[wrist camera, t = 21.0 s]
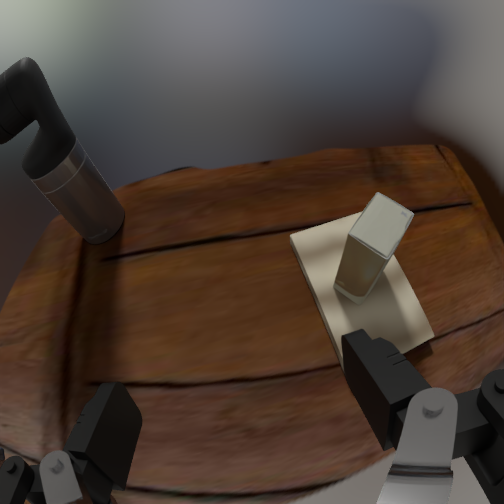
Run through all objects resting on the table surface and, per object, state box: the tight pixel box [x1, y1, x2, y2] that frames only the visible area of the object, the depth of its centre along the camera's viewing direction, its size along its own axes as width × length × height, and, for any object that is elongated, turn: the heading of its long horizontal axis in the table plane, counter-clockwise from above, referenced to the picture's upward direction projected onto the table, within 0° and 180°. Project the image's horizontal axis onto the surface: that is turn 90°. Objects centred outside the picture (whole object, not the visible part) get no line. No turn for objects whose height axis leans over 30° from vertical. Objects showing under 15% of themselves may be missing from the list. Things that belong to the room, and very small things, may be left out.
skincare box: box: [333, 192, 414, 305], centre depth 29 cm, size 6×4×12 cm
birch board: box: [290, 212, 434, 374], centre depth 34 cm, size 20×12×2 cm, turn 17°
